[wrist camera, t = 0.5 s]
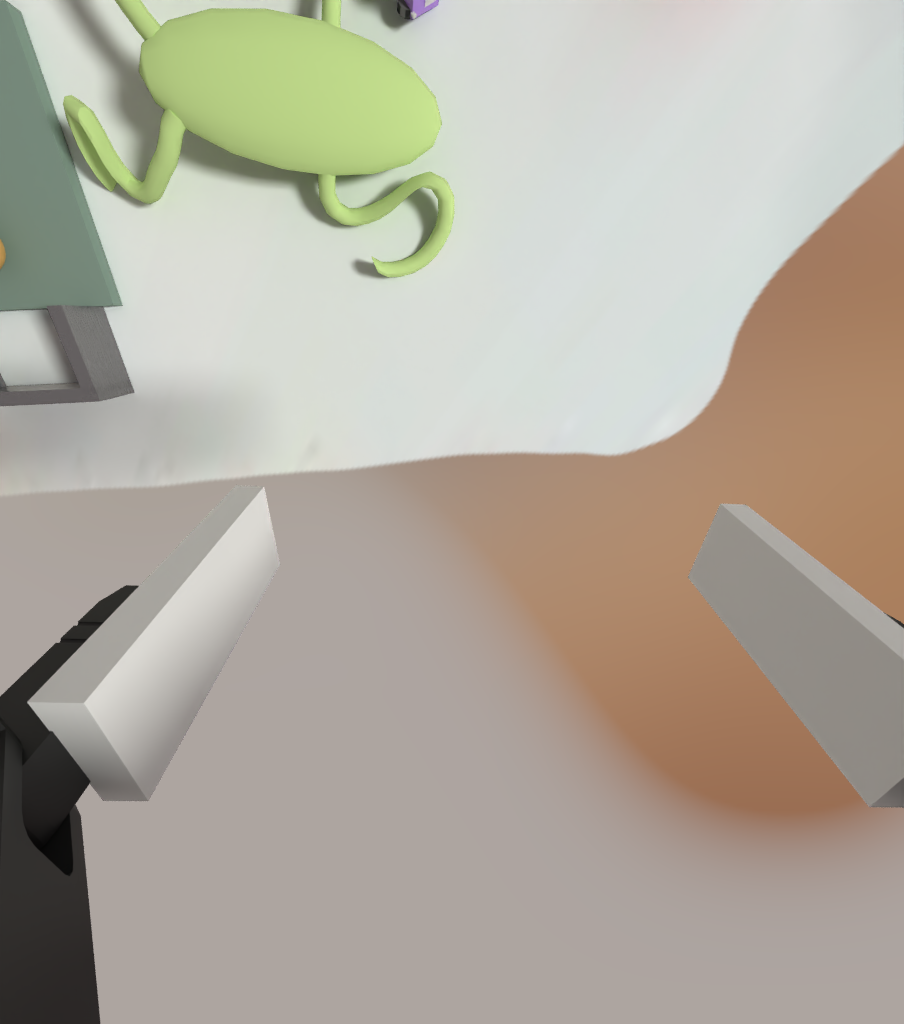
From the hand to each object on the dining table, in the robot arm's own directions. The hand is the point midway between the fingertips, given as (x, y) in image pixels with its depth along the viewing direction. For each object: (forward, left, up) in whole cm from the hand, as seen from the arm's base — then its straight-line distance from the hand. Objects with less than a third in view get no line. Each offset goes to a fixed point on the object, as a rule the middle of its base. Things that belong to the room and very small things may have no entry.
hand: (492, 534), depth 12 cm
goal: (-5, -32, -26) cm, 42 cm away
